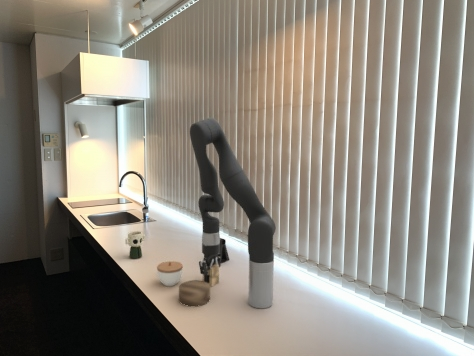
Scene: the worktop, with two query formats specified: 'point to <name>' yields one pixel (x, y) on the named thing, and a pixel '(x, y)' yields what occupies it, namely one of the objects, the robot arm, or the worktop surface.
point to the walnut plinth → (194, 293)
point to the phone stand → (223, 251)
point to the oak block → (213, 275)
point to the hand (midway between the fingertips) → (210, 280)
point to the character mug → (135, 243)
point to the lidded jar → (169, 272)
